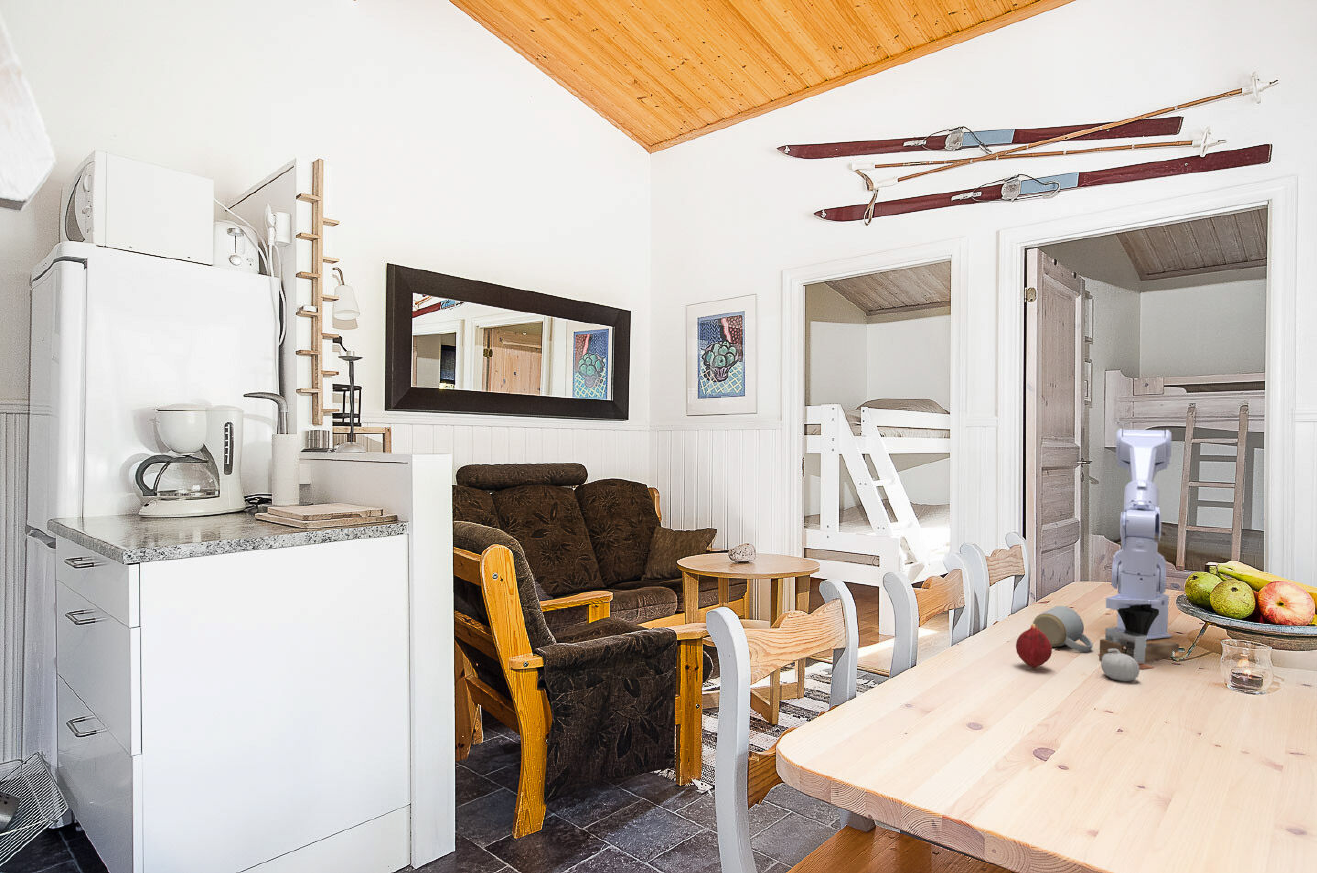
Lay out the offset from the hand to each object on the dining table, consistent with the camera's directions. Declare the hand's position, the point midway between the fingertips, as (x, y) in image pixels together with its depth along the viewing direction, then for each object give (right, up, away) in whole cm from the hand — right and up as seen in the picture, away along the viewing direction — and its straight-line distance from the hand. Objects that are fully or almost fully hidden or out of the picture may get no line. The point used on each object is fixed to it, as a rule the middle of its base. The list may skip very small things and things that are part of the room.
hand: (1136, 644), depth 144 cm
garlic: (-10, -3, -12) cm, 16 cm away
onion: (-23, -3, -7) cm, 24 cm away
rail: (+2, -3, +1) cm, 4 cm away
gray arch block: (-3, -3, -1) cm, 4 cm away
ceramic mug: (-9, -3, +9) cm, 13 cm away
